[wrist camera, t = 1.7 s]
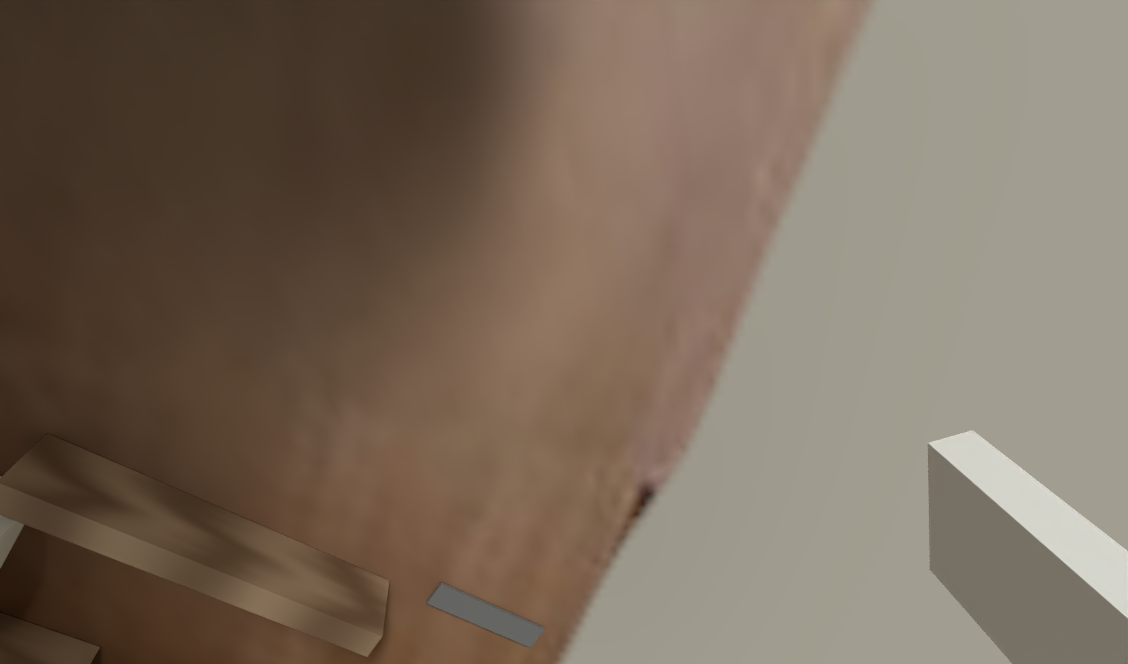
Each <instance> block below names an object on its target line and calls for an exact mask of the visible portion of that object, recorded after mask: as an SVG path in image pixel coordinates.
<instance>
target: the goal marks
mask: <svg viewBox="0 0 1128 664" xmlns="http://www.w3.org/2000/svg"><path fill="white" fill-rule="evenodd" d="M427 604H429V605H431V606H434V607H436V608H438V609H441V610H443V611H445V612H448V613H450V614H453V615H455V616H457V617H460V618H462V619H464V620H467V621H469V622H471V623H474V624H476V625H478V626H481V627H483V628H485V629H488V630H490V631H492V632H495V633H497V634H499V635H502V636H504V637H506V638H509V639H511V640H513V641H516V642H518V643H520V644H523V645H525V646H527V647H531V646H532V645H533V643H534V642H535V641H536V640H537V638H538V637H539V636H540V635H541V634H542V632H543V631H544V627H542V626H540V625H537V624H535V623H533V622H530V621H528V620H526V619H524V618H521V617H519V616H517V615H515V614H512V613H510V612H508V611H506V610H503V609H501V608H499V607H497V606H494V605H492V604H490V603H487V602H485V601H483V600H481V599H478V598H476V597H474V596H472V595H469V594H467V593H465V592H463V591H460V590H458V589H456V588H453V587H451V586H449V585H447V584H444V583H442V582H441V583H440V584H439V585H438V587H437V588H436V589H435V591H434V592H433V593H432V595H431V596H430V597H429V599H428V600H427Z"/></svg>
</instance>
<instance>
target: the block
mask: <svg viewBox="0 0 1128 664" xmlns="http://www.w3.org/2000/svg"><path fill="white" fill-rule="evenodd" d="M1 477H2V476H0V478H1ZM23 526H24V524H22V523H19V522H17V521H14V520H11V519H9V518H6V517H4V516H1V515H0V569H1V567H2V565H3V563H4V561H5V559H6V558H7V556H8V554H9V552H10V550H11V548H12V546H13V545H14V543H15V541H16V539H17V537H18V535H19V533H20V532H21V530H22V528H23Z"/></svg>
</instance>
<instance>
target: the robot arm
mask: <svg viewBox="0 0 1128 664" xmlns="http://www.w3.org/2000/svg"><path fill="white" fill-rule="evenodd" d="M928 474H929V475H928V477H929V478H928V480H929V546H930V570H931V571H932V572H933V574H934V575H935V576H936V577H937V578H938V579H939V580H940V582H941V583H942V584H943V585H944V586H945V587H946V588H947V590H949V592H950V593H951V594H952V595H953V596H954V598H955V599H956V600H957V601H958V602H959V603H960V604H961V605H962V607H963V608H964V609H965V610H966V611H967V612H968V613H969V615H970V616H971V617H972V618H973V619H974V620H975V622H977V624H978V625H979V626H980V627H981V628H982V629H983V631H984V632H985V633H986V634H987V635H988V636H989V637H990V638H991V640H992V641H993V642H994V643H995V644H996V645H997V647H998V648H999V649H1000V650H1001V651H1002V652H1003V653H1004V655H1005V656H1006V657H1007V658H1008V659H1009V660H1010V661H1011V663H1012V664H1128V551H1127V550H1125V549H1124V548H1123V547H1122V546H1120V545H1119V544H1118V543H1117V542H1115V541H1114V540H1113V539H1111V538H1110V537H1109V536H1108V535H1106V534H1105V533H1104V532H1102V531H1101V530H1100V529H1099V528H1097V527H1096V526H1095V525H1093V524H1092V523H1091V522H1090V521H1088V520H1087V519H1086V518H1084V517H1083V516H1082V515H1080V514H1079V513H1078V512H1077V511H1075V510H1074V509H1073V508H1072V507H1070V506H1069V505H1068V504H1066V503H1065V502H1064V501H1063V500H1061V499H1060V498H1059V497H1057V496H1056V495H1055V494H1054V493H1052V492H1051V491H1050V490H1048V489H1047V488H1046V487H1045V486H1043V485H1042V484H1041V483H1039V482H1038V481H1037V480H1036V479H1034V478H1033V477H1031V476H1030V475H1029V474H1028V473H1026V472H1025V471H1024V470H1023V469H1021V468H1020V467H1019V466H1018V465H1016V464H1015V463H1013V462H1012V461H1011V460H1010V459H1009V458H1007V457H1006V456H1005V455H1003V454H1002V453H1001V452H1000V451H998V450H997V449H996V448H994V447H993V446H992V445H991V444H989V443H988V442H987V441H985V440H984V439H983V438H982V437H980V436H979V435H978V434H976V433H975V432H974V431H973V430H972V431H968V432H965V433H962V434H958V435H954V436H951V437H948V438H944V439H940V440H937V441H933V442H930V443H928Z"/></svg>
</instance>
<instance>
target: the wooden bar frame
mask: <svg viewBox="0 0 1128 664" xmlns="http://www.w3.org/2000/svg"><path fill="white" fill-rule="evenodd" d="M0 515H1V516H4V517H6V518H9V519H11V520H14V521H17V522H19V523H22V524H24V525H27V526H30V527H32V528H35V529H37V530H40V531H42V532H45V533H48V534H50V535H53V536H55V537H58V538H61V539H63V540H66V541H68V542H71V543H73V544H76V545H79V546H81V547H84V548H86V549H89V550H92V551H94V552H97V553H99V554H102V555H104V556H107V557H110V558H112V559H115V560H117V561H120V562H123V563H125V564H128V565H130V566H133V567H135V568H138V569H141V570H143V571H146V572H148V573H151V574H154V575H156V576H159V577H161V578H164V579H166V580H169V581H172V582H174V583H177V584H179V585H182V586H185V587H187V588H190V589H192V590H195V591H197V592H200V593H203V594H205V595H208V596H210V597H213V598H216V599H218V600H221V601H223V602H226V603H228V604H231V605H234V606H236V607H239V608H241V609H244V610H247V611H249V612H252V613H254V614H257V615H259V616H262V617H265V618H267V619H270V620H272V621H275V622H278V623H280V624H283V625H285V626H288V627H290V628H293V629H296V630H298V631H301V632H303V633H306V634H309V635H311V636H314V637H316V638H319V639H321V640H324V641H327V642H329V643H332V644H334V645H337V646H340V647H342V648H345V649H347V650H350V651H352V652H355V653H358V654H360V655H363V656H365V657H368V655H369V654H370V653H371V651H372V650H373V649H374V647H375V646H376V645H377V643H378V642H379V641H380V639H381V638H382V637H383V629H384V621H385V613H386V605H387V597H388V589H389V580H387V579H384V578H382V577H380V576H377V575H375V574H373V573H371V572H368V571H366V570H364V569H361V568H359V567H357V566H354V565H352V564H350V563H347V562H345V561H343V560H340V559H338V558H336V557H333V556H331V555H329V554H326V553H324V552H322V551H319V550H317V549H315V548H312V547H310V546H308V545H305V544H303V543H301V542H299V541H296V540H294V539H292V538H289V537H287V536H285V535H282V534H280V533H278V532H275V531H273V530H271V529H268V528H266V527H264V526H261V525H259V524H257V523H254V522H252V521H250V520H247V519H245V518H243V517H240V516H238V515H236V514H234V513H231V512H229V511H227V510H224V509H222V508H220V507H217V506H215V505H213V504H210V503H208V502H206V501H203V500H201V499H199V498H196V497H194V496H192V495H189V494H187V493H185V492H182V491H180V490H178V489H175V488H173V487H171V486H168V485H166V484H164V483H162V482H159V481H157V480H155V479H152V478H150V477H148V476H145V475H143V474H141V473H138V472H136V471H134V470H131V469H129V468H127V467H124V466H122V465H120V464H117V463H115V462H113V461H110V460H108V459H106V458H103V457H101V456H99V455H96V454H94V453H92V452H90V451H87V450H85V449H83V448H80V447H78V446H76V445H73V444H71V443H69V442H66V441H64V440H62V439H59V438H57V437H55V436H52V435H50V434H48V433H47V434H46V435H45V436H44V437H43V438H42V439H41V440H39V441H38V442H37V443H36V444H35V445H34V446H33V447H32V448H31V449H30V450H29V451H28V452H27V453H26V454H25V455H24V456H23V457H22V458H21V459H20V460H19V461H17V462H16V463H15V464H14V465H13V466H12V467H11V468H10V469H9V470H8V471H7V472H6V473H5V474H4V475H3V476H2V477H1V478H0ZM99 648H100V647H99V646H96V645H93V644H90V643H87V642H84V641H81V640H78V639H76V638H73V637H70V636H67V635H64V634H61V633H58V632H55V631H52V630H49V629H47V628H44V627H41V626H38V625H35V624H32V623H29V622H26V621H23V620H21V619H18V618H15V617H12V616H9V615H6V614H3V613H0V664H91V662H92V660H93V658H94V657H95V655H96V653H97V652H98V650H99Z"/></svg>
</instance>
